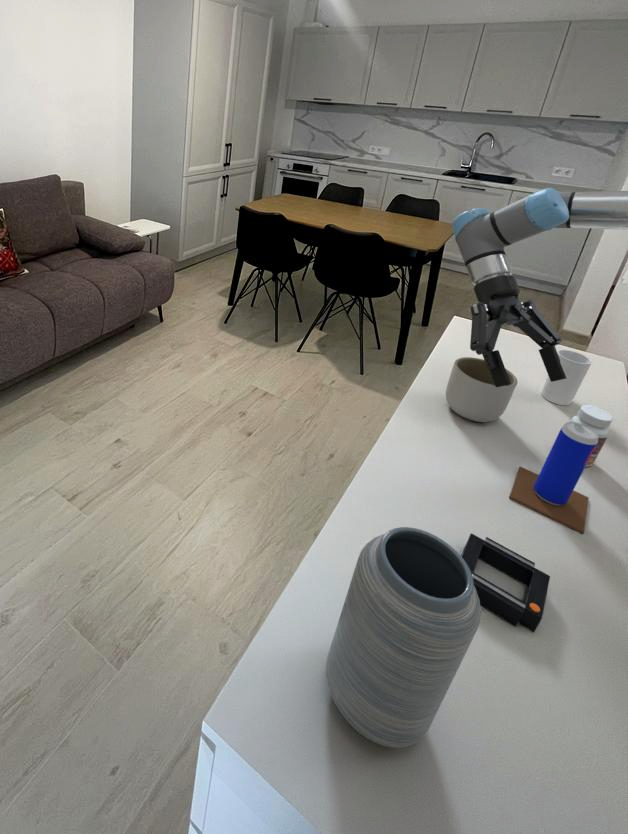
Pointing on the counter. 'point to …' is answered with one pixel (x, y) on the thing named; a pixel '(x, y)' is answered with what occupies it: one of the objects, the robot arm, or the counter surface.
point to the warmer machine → (517, 568)
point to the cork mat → (564, 514)
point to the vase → (401, 635)
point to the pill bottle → (594, 425)
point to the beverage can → (565, 463)
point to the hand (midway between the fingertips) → (531, 383)
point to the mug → (574, 372)
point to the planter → (477, 391)
